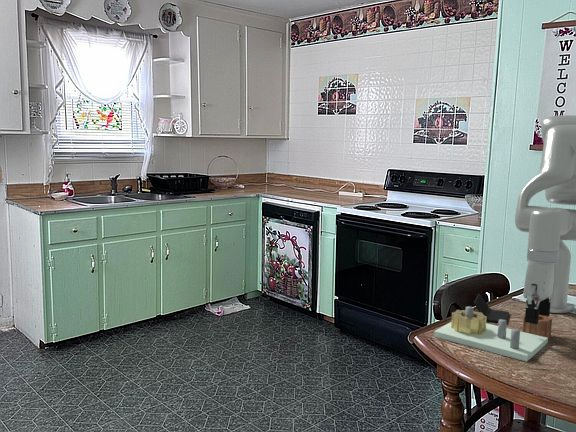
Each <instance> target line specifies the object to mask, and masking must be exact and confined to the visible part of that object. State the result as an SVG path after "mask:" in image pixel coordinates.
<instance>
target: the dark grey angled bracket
mask: <svg viewBox="0 0 576 432" xmlns="http://www.w3.org/2000/svg"><path fill="white" fill-rule="evenodd" d="M473 304H474V306H475V308H476V309H477V311H478V312H481V313H483V315H484V316H487V320H486V323H490V322H491V323H490V324H497V323H499V320H500V319H503V320H506V321H507V322H508V320H509V315H510V312H509V311H507V310H498V309H494V308H493V309H492V308H491V307H489V305H488V303H487V302H486V301H485V299H484V298H483V296H482V295H481V293H478V294H477V296H476V298H475V300H474V302H473Z"/></svg>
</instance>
